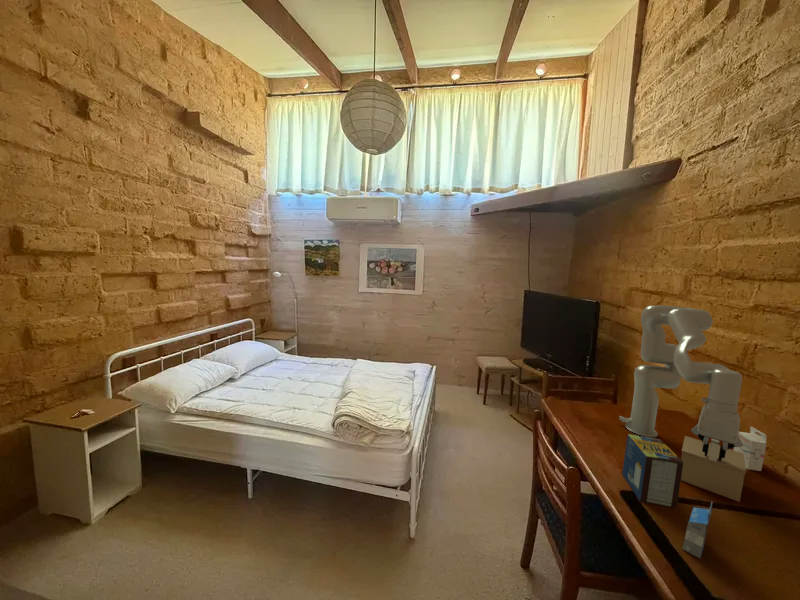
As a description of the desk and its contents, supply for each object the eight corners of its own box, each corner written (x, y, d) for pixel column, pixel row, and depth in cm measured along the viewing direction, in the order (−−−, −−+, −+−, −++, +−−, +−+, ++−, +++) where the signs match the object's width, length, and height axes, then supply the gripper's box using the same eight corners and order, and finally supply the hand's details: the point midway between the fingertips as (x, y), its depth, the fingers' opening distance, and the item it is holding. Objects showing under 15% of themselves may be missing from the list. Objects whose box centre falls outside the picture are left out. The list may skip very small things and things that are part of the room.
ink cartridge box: (730, 457, 142) (736, 423, 141) (744, 459, 141) (751, 425, 140) (747, 469, 134) (753, 433, 133) (762, 471, 133) (769, 435, 132)
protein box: (654, 480, 123) (660, 438, 121) (677, 509, 108) (684, 462, 106) (621, 474, 125) (627, 433, 123) (639, 501, 110) (646, 455, 109)
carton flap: (681, 452, 123) (684, 434, 122) (684, 437, 135) (687, 421, 134) (745, 473, 112) (749, 453, 111) (743, 455, 124) (746, 437, 123)
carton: (677, 479, 124) (682, 452, 123) (681, 462, 136) (685, 438, 135) (739, 501, 113) (744, 473, 112) (737, 481, 125) (742, 455, 124)
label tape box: (687, 533, 97) (694, 493, 96) (706, 542, 94) (713, 501, 93) (681, 549, 91) (689, 506, 90) (702, 560, 88) (709, 515, 87)
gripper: (689, 400, 119) (681, 450, 121) (757, 417, 109) (746, 472, 110) (690, 395, 125) (683, 443, 127) (755, 410, 114) (745, 463, 116)
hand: (712, 456), depth 119 cm, fingers open, 3 cm apart
